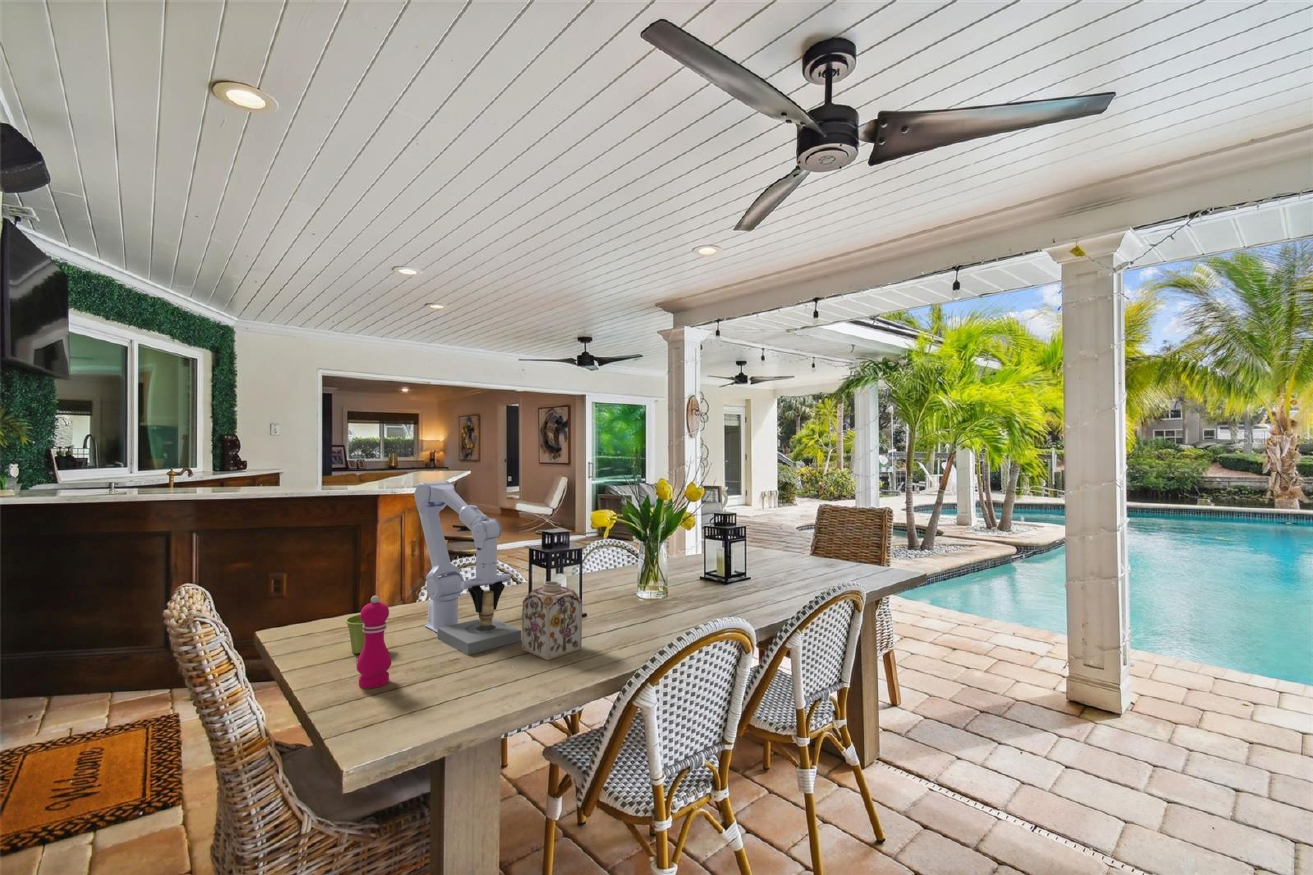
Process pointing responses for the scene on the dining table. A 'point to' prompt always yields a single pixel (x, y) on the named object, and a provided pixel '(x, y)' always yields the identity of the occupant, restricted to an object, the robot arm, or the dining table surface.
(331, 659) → the dining table surface
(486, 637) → the grey peg hole board
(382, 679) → the pepper mill
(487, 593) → the oak peg
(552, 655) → the decorative jar
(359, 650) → the plant pot
